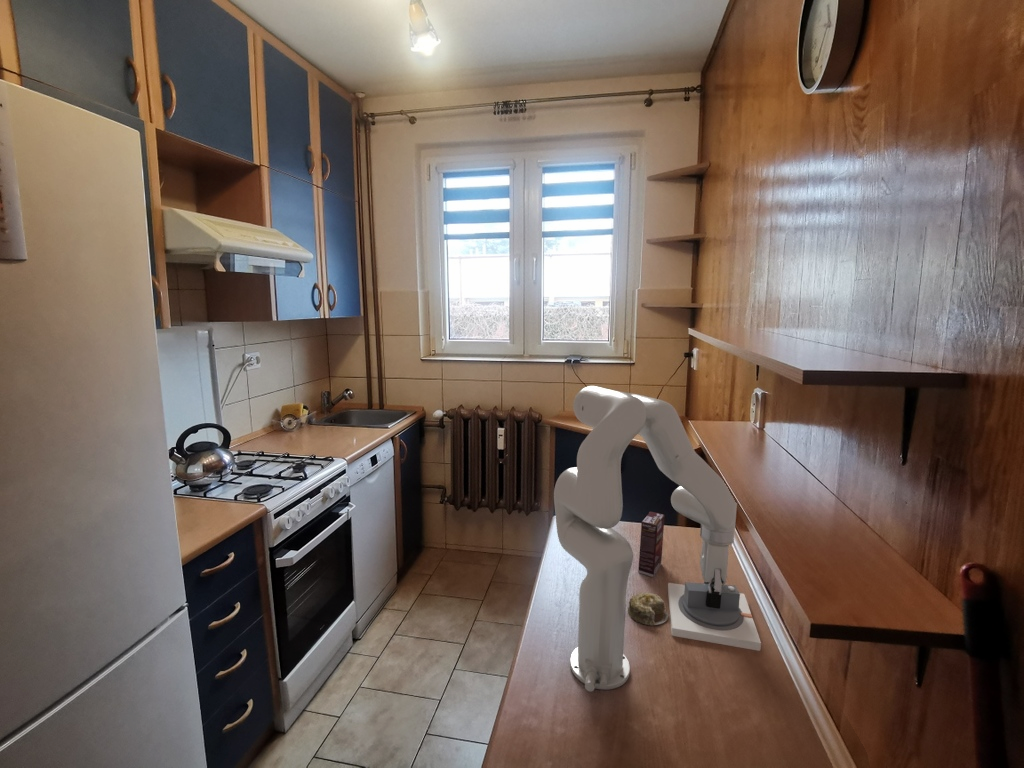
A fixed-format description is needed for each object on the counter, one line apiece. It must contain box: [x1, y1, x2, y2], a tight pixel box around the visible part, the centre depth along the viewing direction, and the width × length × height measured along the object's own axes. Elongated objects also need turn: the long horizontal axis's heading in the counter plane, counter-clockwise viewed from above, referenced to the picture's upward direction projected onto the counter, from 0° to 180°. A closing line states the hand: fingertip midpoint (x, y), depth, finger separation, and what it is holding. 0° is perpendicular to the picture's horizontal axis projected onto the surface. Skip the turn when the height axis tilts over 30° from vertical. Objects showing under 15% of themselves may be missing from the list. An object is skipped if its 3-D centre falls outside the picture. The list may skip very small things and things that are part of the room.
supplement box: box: [637, 511, 665, 578], centre depth 140 cm, size 9×5×16 cm, turn 148°
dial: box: [683, 581, 740, 626], centre depth 118 cm, size 13×13×6 cm
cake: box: [627, 592, 669, 626], centre depth 121 cm, size 10×10×5 cm
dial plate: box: [667, 582, 762, 652], centre depth 119 cm, size 19×19×2 cm
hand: (711, 600), depth 119 cm, fingers closed on dial, 4 cm apart
